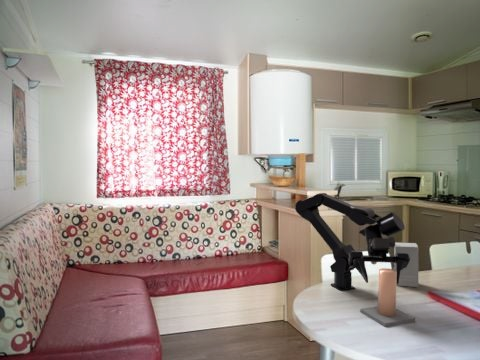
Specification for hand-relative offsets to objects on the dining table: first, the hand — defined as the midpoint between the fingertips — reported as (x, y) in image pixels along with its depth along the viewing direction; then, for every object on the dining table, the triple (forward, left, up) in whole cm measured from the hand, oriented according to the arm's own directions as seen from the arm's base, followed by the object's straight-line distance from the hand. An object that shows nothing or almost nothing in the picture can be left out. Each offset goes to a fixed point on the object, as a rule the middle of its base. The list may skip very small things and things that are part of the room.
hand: (382, 283), depth 117 cm
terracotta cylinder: (+5, -2, -7) cm, 9 cm away
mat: (+5, -2, -9) cm, 10 cm away
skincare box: (-17, +26, -9) cm, 32 cm away
